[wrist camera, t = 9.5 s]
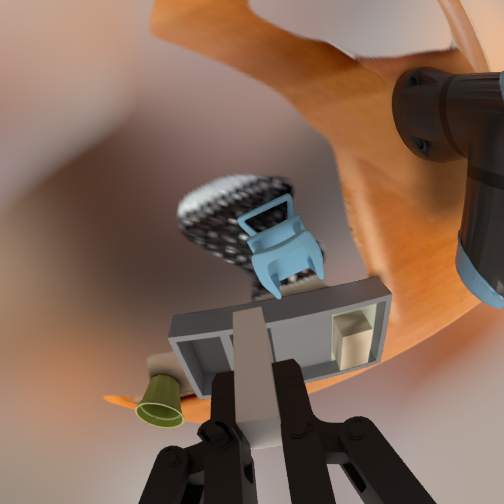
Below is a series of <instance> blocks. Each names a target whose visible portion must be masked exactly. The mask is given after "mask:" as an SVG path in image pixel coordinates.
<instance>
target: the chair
mask: <svg viewBox="0 0 504 504" xmlns="http://www.w3.org/2000/svg"><path fill="white" fill-rule="evenodd" d="M285 201H287V218H288V219H287V220H285V221H283V222H281V223H279V224H278V225H276V226H273V227H271V228H269V229H267V230H265V231H262V232H260V233H258V232H256V231H255V230H254V229H253V228H252V227H251V226H249V225H248V224H247V223H246V222H245V220H246V219H248V218H251V217H253V216H255V215H257V214H259V213H261V212H263V211H266V210H268V209H270V208H272V207H274V206H276V205H279V204H281V203H283V202H285ZM237 221H238V223H239V225H240V226H241V227H242V228H243V229H244V230H245V231H246V232H247V233H248V234H249V235H250V236H251V237H249V238H247V243H248V245H249V246H250V248H251V250H252V252H253V256H252V264H253V267H254V269H255V272H256V274H257V276H258V278H259V280H260V281H261V283H262V284H263V285H264V287H265V288H266V289H268V290H269V291H270V292H271V293H272V294H273V295H274V296H275V297H276V298H277V299H281V293H280V290H279V287H280V281H281V280H283V279H285V278H287V277H289V276H291V275H293V274H295V273H297V272H300V271H302V270H304V269H307V268H309V267H310V268H311V269H312V270H313V271H315V272H316V273H317V275H318V277H319V279H321V280H322V279H323V278H324V273H323V258H322V254H321V251H320V248H319V246H318V244H317V242H316V240H315V238H314V237H313V235H312V234H311V233H310V232H309V231H307V230H305V227H304V225H303V223H302V221H301V218H300V216H299V215H296V216H294V206H293V200H292V197H291V195H290V194H285V195H283V196H280V197H278V198H276V199H274V200H272V201H270V202H268V203H266V204H264V205H262V206H260V207H258V208H256V209H253V210H251V211H249V212H247V213H245V214H243V215H241V216H239V217H238V219H237Z"/></svg>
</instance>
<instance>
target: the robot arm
mask: <svg viewBox="0 0 504 504" xmlns="http://www.w3.org/2000/svg"><path fill="white" fill-rule="evenodd" d="M392 107H393V116H394V120H395V124H396V127H397V130H398V132H399V134H400V136H401V138H402V140H403V141H404V143H405V144H406V146H407V147H408V148H409V149H410V150H411V151H412V152H413V153H414V154H416V155H417V156H419V157H420V158H423V159H425V160H429V161H433V162H439V163H443V162H448V161H453V160H457V159H462V158H467V159H468V169H467V182H466V192H465V201H464V209H463V216H462V222H461V228H460V230H459V232H458V246H457V252H456V258H455V264H456V269H457V272H458V274H459V276H460V278H461V280H462V282H463V283H464V285H465V286H466V287H467V289H468V290H469V291H470V292H471V293H472V294H473V295H475V296H476V297H477V298H478V299H480V300H481V301H483V302H484V303H486V304H488V305H490V306H492V307H494V308H497V309H502V308H504V71H502V72H488V73H469V74H457V75H455V74H452V73H449V72H445V71H442V70H439V69H436V68H432V67H420V68H415V69H411V70H409V71H407V72H405V73H404V74H403V75H402V76H401V77H400V79H399V80H398V82H397V84H396V86H395V89H394V93H393V101H392ZM233 346H234V371H227V372H221V373H216V375H215V377H214V379H213V381H212V389H211V392H212V394H211V416H210V420H208V421H206V422H204V423H203V424H202V425H201V426H200V428H199V429H198V432H197V435H198V436H199V437H200V438H201V440H202V442H200V443H198V444H195V445H192V446H189V447H187V448H184V449H183V448H181V447H178V446H168V447H165V448H164V449H162V450H161V451H160V452H159V454H158V455H157V458H156V460H155V463H154V465H153V468H152V470H151V473H150V475H149V478H148V481H147V483H146V486H145V488H144V490H143V493H142V496H141V498H140V501H139V503H138V504H258V500H257V491H256V480H255V469H254V461H253V458H252V456H251V450H250V447H251V448H252V450H254V449H262V448H269V447H275V446H281V445H283V451H284V458H285V464H286V470H287V477H288V482H289V489H290V496H291V502H292V504H336V502H335V498H334V493H333V489H332V485H331V481H330V477H329V472H328V468H327V464H339V465H340V466H341V468H342V469H343V471H344V472H345V474H346V476H347V477H348V479H349V480H350V482H351V483H352V485H353V487H354V488H355V490H356V491H357V493H358V494H359V496H360V497H361V499H362V500H363V502H364V503H365V504H436V502H435V501H434V500H433V499H432V497H431V496H430V495H429V494H428V492H427V491H426V490H425V489H424V487H423V486H422V485H421V483H420V482H419V481H418V480H417V479H416V477H415V476H414V475H413V473H412V472H411V471H410V470H409V468H408V467H407V466H406V464H405V463H404V462H403V461H402V459H401V458H400V457H399V455H398V454H397V453H396V452H395V450H394V449H393V448H392V446H391V445H390V444H389V443H388V441H387V440H386V439H385V438H384V436H383V435H382V434H381V432H380V431H379V430H378V428H377V427H376V426H375V425H374V423H373V422H372V421H371V420H369V419H368V418H365V417H362V416H360V417H359V416H356V417H353V418H349V419H347V420H346V421H345V422H344V423H329V422H324V421H321V420H319V419H318V418H316V416H315V415H314V414H313V412H312V409H311V405H310V401H309V397H308V394H307V390H306V386H305V382H304V378H303V375H302V371H301V367H300V365H299V364H298V363H297V362H296V361H295V360H294V358H292V359H288V360H283V361H278V362H273V356H272V351H271V345H270V340H269V336H268V332H267V328H266V324H265V320H264V316H263V312H262V308H261V307H256V308H251V309H247V310H242V311H237V312H233Z"/></svg>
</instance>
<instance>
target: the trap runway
mask: <svg viewBox="0 0 504 504" xmlns="http://www.w3.org/2000/svg"><path fill="white" fill-rule="evenodd" d="M391 300H392V293H391V292H390V290H389V289H388V288H387V287H386V286H385V285H384V284H383V282H382V281H381V280H380V279H379V278H378V277H377V276H376V277H372V278H368V279H363V280H359V281H355V282H351V283H346V284H342V285H337V286H333V287H328V288H324V289H319V290H314V291H310V292H305V293H300V294H295V295H290V296H285V297H281V299H277V298H275V299H270V300H264V301H259V302H253V303H248V304H242V305H237V306H230V307H225V308H218V309H212V310H206V311H200V312H193V313H186V314H179V315H173V318H172V322H171V326H170V330H169V334H168V340H169V342H170V344H171V346H172V348H173V350H174V352H175V355H176V357H177V359H178V361H179V363H180V365H181V366H182V368H183V370H184V372H185V374H186V376H187V378H188V380H189V382H190V384H191V386H192V387H193V389H194V391H195V393H196V395H197V396H198V398H199V399H207V398H211V394H212V392H211V389H212V381H213V379H214V377H215V375H216V373H221V372H227V371H234V346H233V312H237V311H242V310H247V309H251V308H256V307H261V308H262V312H263V316H264V320H265V324H266V328H267V332H268V336H269V340H270V345H271V351H272V356H273V362H278V361H283V360H288V359H292V358H294V360H295V361H296V362H297V363H298V364H299V365H300V367H301V371H302V375H303V378H304V382H305V383H309V382H313V381H317V380H321V379H325V378H329V377H333V376H337V375H341V374H344V373H348V372H351V371H355V370H358V369H362V368H365V367H368V366H371V365H374V364H377V363H380V361H381V356H382V352H383V347H384V342H385V337H386V331H387V326H388V320H389V314H390V307H391ZM359 310H361V311H362V312H363V314H364V315H365V317H366V318H367V320H368V322H369V323H370V325H371V326H372V328H373V333H372V340H371V346H370V352H369V358H368V363H365V364H362V365H359V366H355V367H352V368H348V369H345V370H341V371H340V369H339V366H338V364H337V361H336V359H335V357H334V354H333V352H332V333H333V317H335V316H339V315H343V314H347V313H351V312H355V311H359Z"/></svg>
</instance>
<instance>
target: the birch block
mask: <svg viewBox="0 0 504 504" xmlns="http://www.w3.org/2000/svg"><path fill="white" fill-rule="evenodd" d="M372 333H373V328H372V326H371V325H370V323H369V322H368V320H367V318H366V317H365V315H364V314H363V312H362V311H361V310H359V311H355V312H351V313H347V314H343V315H339V316H335V317H333V333H332V352H333V354H334V357H335V359H336V361H337V364H338V366H339V369H340V371H341V370H345V369H348V368H352V367H355V366H359V365H362V364H365V363H368V358H369V352H370V346H371V340H372Z"/></svg>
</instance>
